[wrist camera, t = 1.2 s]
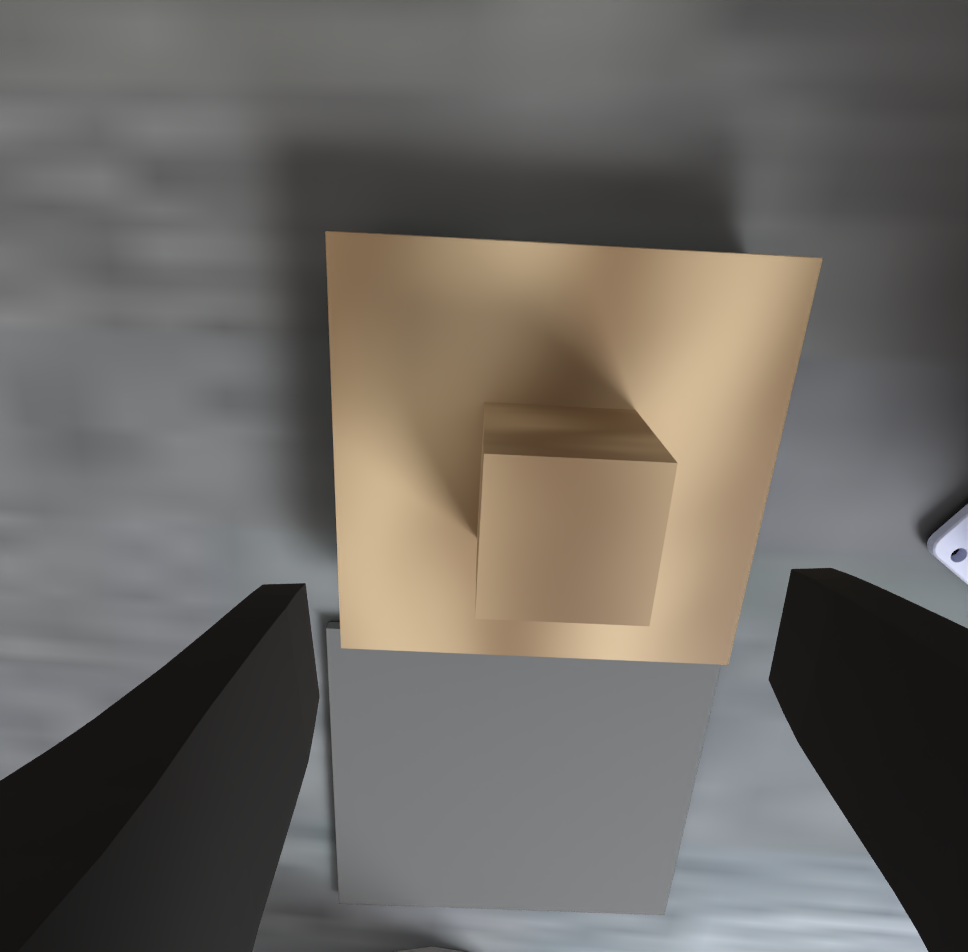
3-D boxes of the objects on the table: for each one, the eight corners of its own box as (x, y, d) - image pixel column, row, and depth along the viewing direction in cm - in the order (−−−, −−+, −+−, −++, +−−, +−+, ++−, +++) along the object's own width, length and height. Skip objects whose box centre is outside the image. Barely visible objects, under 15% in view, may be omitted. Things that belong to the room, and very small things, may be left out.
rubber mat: (721, 638, 23) (725, 645, 23) (661, 906, 28) (664, 915, 28) (328, 621, 23) (326, 628, 22) (340, 894, 28) (339, 903, 28)
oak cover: (807, 256, 16) (928, 270, 12) (719, 648, 21) (783, 766, 16) (332, 230, 16) (274, 235, 12) (346, 632, 21) (307, 747, 16)
